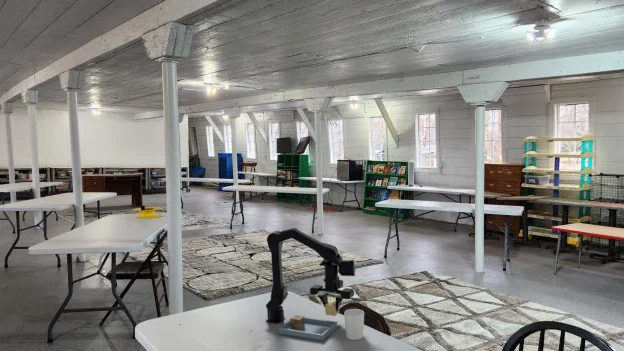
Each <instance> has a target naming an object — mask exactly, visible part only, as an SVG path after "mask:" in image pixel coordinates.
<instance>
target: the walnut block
mask: <svg viewBox="0 0 624 351" xmlns="http://www.w3.org/2000/svg"><path fill="white" fill-rule="evenodd" d="M304 317H305V316H304V315H297V314H294V315H293V316H291V317H290V318H289V320H290V329H293V330H299V331H300V330H301V329H303V328H304V327H305V319H304Z"/></svg>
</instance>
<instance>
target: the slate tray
mask: <svg viewBox="0 0 624 351" xmlns="http://www.w3.org/2000/svg"><path fill="white" fill-rule="evenodd" d="M304 319H305V327H304V328H303V329H301V330H300V331H299V330H293V329H290V319H288V321H286V322H285V323H284V324H282V325H281V326H280V327H278V328H277V329H278V330H277V331H278V332H277V333H278V335H281V336H287V337H292V338H299V339H304V340H312V341H316V342H322V343H323V342H324V341H326V340H327V338H329V337H330V336H331V334H333V333H334V332H335V331H336V330H337V329H338V321H335V320H334V321H333V320H326V319H320V318H312V317H308V316H307V317H306V316H304Z"/></svg>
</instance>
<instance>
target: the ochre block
mask: <svg viewBox="0 0 624 351" xmlns="http://www.w3.org/2000/svg"><path fill="white" fill-rule="evenodd" d="M324 308H325V309H324V310H325V315H327V316H333V317H336V316H337V315H338V314H339V313H340V310H339V311H338V312H337V311H336V301H332V300H328V303H326V304H325V307H324Z"/></svg>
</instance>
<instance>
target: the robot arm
mask: <svg viewBox="0 0 624 351" xmlns="http://www.w3.org/2000/svg"><path fill="white" fill-rule="evenodd" d="M290 239H293V240H295V241H297V242H298V243H300V244H301V245H304V246H305V247H307V248H309V249H311V250H312V251H315V253H317V254H318V255H319V256H320V257H321V258H322V261H321V262H320V263H319V266H320V267H321V266H322V267H324V268H323V269H324V271H323V272H324V278H323V282H324V286H323V285H320V284H314V285H313V286H311V287H310V288H309V295H313V296H316V297H317V298H319V300H320V301H321V303H322V305H323V307H324V308H325V304H326V303H328V302H329V300H328V296H329V294H332V295H337V296H336V297H335V302H336V311H337V312H338V311H339V312H340V307H341V304H342V302H343V300H344V299H347V300H349V299H352V298H353V297H354V296H355V290H354V288H347V287H344V280H343V279H340V276H341V277H355V276H356V264H355V259H347V260H345V259H343V257H342V256H341V255H340V254H339V250H338V248H337V247H336V246H335V245H333V244H329V243H326V242H322V241H319V240H317V239H315V238H314V237H312V236H310V235H308V234H306V233H305V232H302V231H300V230H299V229H298V228H297V227H292V228H288V229H284V230H281V231H280V230H275V231H272V232H270V233H269V234H268V235H267V237H266V243H267V246H268V249H269V252H270V254H271V271H272V287H271V288H272V289H271V291H270V292H271V293H270V300H269V301H268V302H267V303H266V304H265V308H266V310H267V312H266V313H267V319H265V323H266V322H267V323H272V324H273V323H274V324H280V323H281V322H283V321H284V320H285V319H286V317H285V310H284V309H283V308H284V307H283V303H284V302H285V300H286V299H287V298H288V295H289V292H288V285H285V283H284V279H283V278H284V277H283V276H284V275H283V263H282V249H283V245H284V241H287V240H290ZM339 275H340V276H339ZM341 288H343V289H341Z"/></svg>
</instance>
